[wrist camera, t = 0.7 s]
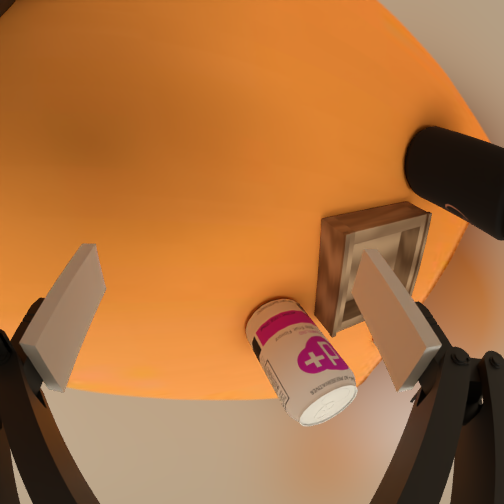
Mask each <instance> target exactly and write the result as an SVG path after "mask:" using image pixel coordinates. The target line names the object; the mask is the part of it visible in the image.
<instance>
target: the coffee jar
mask: <svg viewBox="0 0 504 504" xmlns="http://www.w3.org/2000/svg"><path fill="white" fill-rule="evenodd" d="M405 171H406V177H407V180H408V182H409V184H410V186H411V188H412V190H413V191H414V192H415V193H416V194H417V195H419V196H420V197H422V198H424V199H426V200H428V201H430V202H432V203H434V204H436V205H438V206H439V207H441V208H443V209H445V210H447V211H449V212H451V213H453V214H454V215H456V216H458V217H460V218H462V219H463V220H465V221H467V222H469V223H471V224H472V225H474V226H476V227H477V228H479V229H481V230H483V231H484V232H486V233H488V234H489V235H491V236H493V237H494V238H496V239H497V240H504V148H502V147H499V146H497V145H494V144H491V143H488V142H486V141H483V140H480V139H477V138H474V137H471V136H467V135H464V134H461V133H458V132H454V131H451V130H448V129H444V128H440V127H437V126H434V127H427V128H425V129H424V130H422V131H420V132H419V133H417V134H416V136H415V137H414V138H413V139H412V141H411V143H410V145H409V148H408V150H407V155H406V159H405Z"/></svg>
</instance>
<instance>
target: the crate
mask: <svg viewBox="0 0 504 504" xmlns="http://www.w3.org/2000/svg"><path fill="white" fill-rule="evenodd" d="M431 216H432V213H430V212H426V211H424V210H422V209H420V208H418V207H417V206H415V205H413V204H411V203H409V202H402V203H397V204H392V205H387V206H382V207H377V208H372V209H367V210H362V211H357V212H352V213H347V214H342V215H337V216H332V217H327V218H323V219H322V222H321V240H320V255H319V269H318V281H317V293H316V304H315V314H314V315H315V316H316V317H317V319H318V320H319V321H320V322H321V323H322V325H323V326H324V327H325V328H326V330H327V331H328V332H329V333H330V336H331V337H335V336H336V332H339V331H341V330H344V329H346V328H348V327H351V326H353V325H356V324H358V323H360V322H363V321H365V320H364V318H363V316H362V314H361V312H360V310H359V308H358V306H357V304H356V302H355V299H354V297H353V295H352V293H351V291H352V288H353V285H354V281H355V278H356V275H357V271H358V268H359V264H360V261H361V257H362V254H363V250H364V249H377V250H378V251H379V253H380V254H381V255H382V257H383V258H384V259H385V261H386V262H387V264H388V265H389V266H390V268H391V269H392V270H393V272H394V273H395V275H396V276H397V277H398V279H399V280H400V282H401V283H402V284H403V286H404V287H405V289H406V290H407V292H408V293H409V295H410V296H412V292H413V289H414V286H415V282H416V279H417V275H418V271H419V268H420V264H421V260H422V256H423V252H424V248H425V244H426V239H427V235H428V230H429V225H430V221H431Z"/></svg>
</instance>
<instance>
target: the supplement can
mask: <svg viewBox="0 0 504 504" xmlns="http://www.w3.org/2000/svg"><path fill="white" fill-rule="evenodd" d="M246 336H247V339H248V341H249V343H250V345H251V347H252V349H253V351H254V353H255V354H256V356H257V358H258V360H259V362H260V364H261V366H262V368H263V370H264V372H265V373H266V375H267V377H268V379H269V381H270V383H271V385H272V387H273V388H274V390H275V392H276V394H277V396H278V398H279V399H280V401H281V403H282V405H283V407H284V409H285V410H286V412H287V414H288V415H289V416H290V417H291V418H293V419H294V420H296V421H298V422H299V423H300V424H301V425H302V426H313V425H317V424H320V423H323V422H325V421H327V420H329V419H331V418H333V417H334V416H336V415H337V414H339V413H340V412H341V411H343V410H344V409H345V408H346V407H347V406H348V405H349V404H350V403H351V402H352V401H353V399H354V398H355V397H356V394H357V391H358V390H357V388H356V382H355V376H354V374H353V372H352V371H351V369H350V368H349V367H348V366H347V364H346V363H345V362H344V361H343V359H342V358H341V357H340V355H339V354H338V353H337V352H336V350H335V349H334V348H333V346H332V345H331V344H330V343H329V341H328V340H327V339H326V338H325V336H324V335H323V334H322V332H321V331H320V330H319V329H318V327H317V326H316V325H315V324H314V322H313V321H312V320H311V318H310V317H309V316H308V315H307V313H306V312H305V311H304V310H303V308H302V307H301V306H300V304H298V303H297V302H295V301H294V300H290V299H279V300H274V301H270V302H268V303H266V304H264V305H262V306H261V307H260V308H259V309H257V310H256V311H255V312H254V314H253V315H252V317H251V318H250V320H249V321H248V323H247V327H246Z"/></svg>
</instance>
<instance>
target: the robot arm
mask: <svg viewBox="0 0 504 504" xmlns="http://www.w3.org/2000/svg"><path fill="white" fill-rule="evenodd" d="M14 1H15V0H0V16H1V15H2V14H3V13H4V12H5V11H6V10H7V9H8V8H9V7H10V6H11V5H12V4H13V2H14ZM105 291H106V286H105V283H104V279H103V274H102V270H101V266H100V262H99V257H98V253H97V248H96V244H82V245H81V246H80V248H79V249H78V250H77V252H76V253H75V254H74V256H73V257H72V259H71V260H70V261H69V263H68V264H67V266H66V267H65V269H64V270H63V272H62V273H61V275H60V276H59V277H58V279H57V280H56V282H55V284H54V285H53V287H52V288H51V290H50V291H49V293H48V294H47V296H46V298H39V299H38V300H37V301H36V302H35V303H33V304H32V305H31V307H30V309H29V310H28V312H27V315H25V317H24V318H23V322H21V323H20V325H19V327H18V328H17V330H16V332H15V334H14V335H13V337H12V339H11V341H10V340H9V338H8V337H7V335H6V333H5V332H4V331H3V330H1V329H0V504H20V501H19V497H18V493H17V488H16V483H15V478H14V473H13V466H12V459H11V452H10V449H11V451H12V454H13V457H14V460H15V463H16V465H17V468H18V470H19V473H20V476H21V478H22V480H23V483H24V485H25V487H26V489H27V492H28V494H29V496H30V498H31V500H32V502H33V504H100V503H99V501H98V500H97V498H96V497H95V495H94V494H93V492H92V490H91V489H90V487H89V486H88V484H87V482H86V481H85V479H84V477H83V476H82V474H81V472H80V470H79V468H78V467H77V465H76V463H75V461H74V459H73V457H72V456H71V454H70V452H69V450H68V448H67V446H66V444H65V442H64V440H63V438H62V436H61V434H60V431H59V429H58V427H57V425H56V423H55V420H54V418H53V415H52V413H51V411H50V408H49V406H48V403H47V401H46V398H45V396H44V393H43V391H42V390H41V388H40V387H41V384H42V382H44V383H45V384H46V386H47V387H48V389H50V390H54V391H59V392H65V389H66V386H67V383H68V380H69V377H70V375H71V372H72V369H73V366H74V364H75V361H76V358H77V356H78V353H79V351H80V348H81V346H82V343H83V341H84V338H85V336H86V334H87V331H88V329H89V326H90V324H91V322H92V319H93V317H94V315H95V313H96V310H97V308H98V306H99V304H100V301H101V299H102V297H103V295H104V293H105ZM351 293H352V295H353V297H354V299H355V302H356V304H357V306H358V308H359V310H360V312H361V314H362V316H363V318H364V320H365V322H366V324H367V326H368V328H369V330H370V333H371V335H372V337H373V339H374V341H375V343H376V346H377V348H378V350H379V352H380V354H381V357H382V359H383V361H384V363H385V365H386V368H387V370H388V372H389V375H390V377H391V379H392V382H393V384H394V386H395V388H396V391H397V392H402V391H406V390H410V389H412V388H413V387H414V385H415V384H416V383H417V381H419V383H420V385H421V388H420V389H419V390H418V392H417V393H416V394H415V395H414V397H413V398H412V400H411V401H410V402H413V401H414V400H415V402H414V405H413V408H412V411H411V413H410V416H409V419H408V422H407V424H406V427H405V429H404V432H403V435H402V437H401V439H400V442H399V444H398V447H397V449H396V451H395V454H394V456H393V458H392V460H391V462H390V465H389V467H388V469H387V471H386V473H385V475H384V477H383V479H382V481H381V483H380V485H379V487H378V489H377V491H376V493H375V495H374V496H373V498H372V500H371V502H370V504H439V502H440V500H441V497H442V494H443V491H444V488H445V486H446V483H447V480H448V477H449V473H450V470H451V467H452V463H453V460H454V474H453V486H452V494H451V502H450V504H504V359H503V357H502V356H501V355H500V354H498V353H497V352H494V351H488V352H486V353H485V355H484V356H483V358H482V359H476V358H470V357H469V355H468V354H467V353H466V352H465V351H464V350H463V349H461V348H458V347H452V346H451V344H450V342H449V341H448V339H447V337H446V336H445V334H444V333H443V331H442V330H441V328H440V327H439V325H437V322H436V321H435V319H434V318H433V316H432V315H431V313H430V312H429V310H428V309H427V308H426V307H425V306H424V305H423V304H421V303H420V302H414V300H413V299H412V297H411V296H410V295H409V293H408V292H407V290H406V289H405V287H404V286H403V284H402V283H401V282H400V280H399V279H398V277H397V276H396V275H395V273H394V272H393V270H392V269H391V268H390V266H389V265H388V264H387V262H386V261H385V259H384V258H383V257H382V255H381V254H380V253H379V251H378V250H377V249H364V250H363V254H362V257H361V261H360V264H359V268H358V271H357V275H356V278H355V281H354V285H353V288H352V291H351ZM482 398H483V404H482V400H481V399H482ZM454 456H455V459H454Z"/></svg>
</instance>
